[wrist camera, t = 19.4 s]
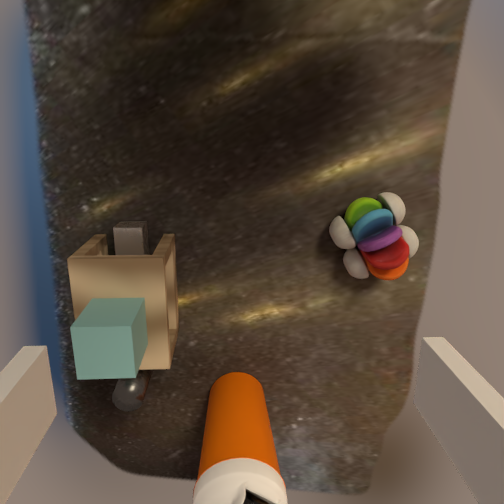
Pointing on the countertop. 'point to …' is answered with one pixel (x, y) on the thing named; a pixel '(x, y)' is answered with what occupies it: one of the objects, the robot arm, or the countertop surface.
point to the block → (110, 338)
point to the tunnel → (132, 289)
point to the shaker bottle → (238, 447)
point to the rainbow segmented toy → (375, 237)
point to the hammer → (133, 389)
